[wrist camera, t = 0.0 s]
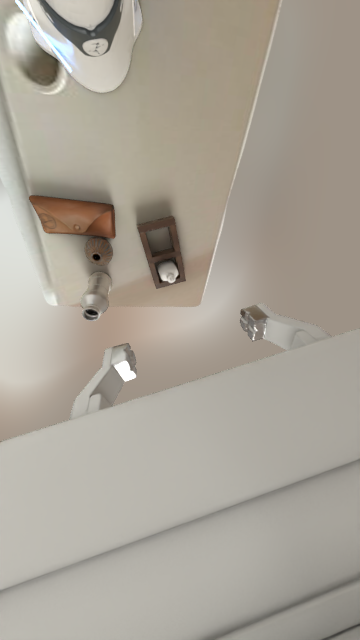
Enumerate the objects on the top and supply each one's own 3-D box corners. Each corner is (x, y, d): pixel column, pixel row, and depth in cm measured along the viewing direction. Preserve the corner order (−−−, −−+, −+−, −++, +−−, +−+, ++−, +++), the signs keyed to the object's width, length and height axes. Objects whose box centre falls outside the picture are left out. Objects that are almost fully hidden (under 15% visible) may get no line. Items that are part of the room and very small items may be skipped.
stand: (136, 224, 50) (137, 227, 46) (171, 215, 50) (174, 217, 47) (155, 283, 61) (156, 289, 58) (183, 276, 62) (185, 280, 59)
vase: (113, 237, 50) (110, 245, 43) (113, 261, 54) (111, 272, 47) (86, 233, 48) (79, 240, 41) (88, 258, 52) (82, 269, 45)
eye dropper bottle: (172, 273, 60) (180, 289, 51) (156, 271, 59) (161, 287, 49) (174, 260, 58) (183, 274, 49) (158, 258, 56) (163, 272, 47)
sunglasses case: (44, 235, 46) (29, 223, 39) (41, 206, 45) (25, 190, 39) (117, 239, 50) (114, 229, 44) (115, 213, 49) (112, 199, 43)
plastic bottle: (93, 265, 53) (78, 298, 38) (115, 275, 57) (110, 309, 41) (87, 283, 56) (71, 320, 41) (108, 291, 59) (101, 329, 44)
